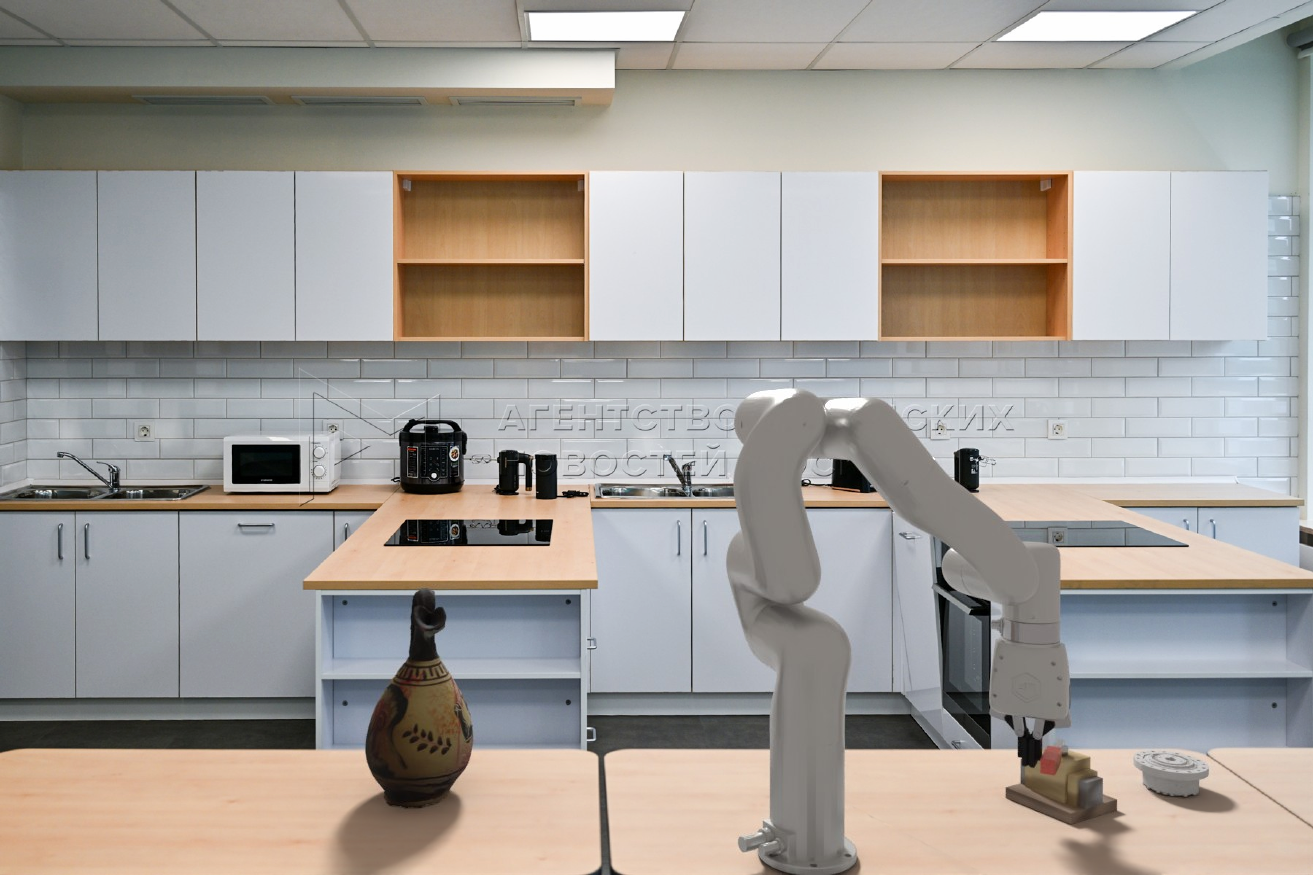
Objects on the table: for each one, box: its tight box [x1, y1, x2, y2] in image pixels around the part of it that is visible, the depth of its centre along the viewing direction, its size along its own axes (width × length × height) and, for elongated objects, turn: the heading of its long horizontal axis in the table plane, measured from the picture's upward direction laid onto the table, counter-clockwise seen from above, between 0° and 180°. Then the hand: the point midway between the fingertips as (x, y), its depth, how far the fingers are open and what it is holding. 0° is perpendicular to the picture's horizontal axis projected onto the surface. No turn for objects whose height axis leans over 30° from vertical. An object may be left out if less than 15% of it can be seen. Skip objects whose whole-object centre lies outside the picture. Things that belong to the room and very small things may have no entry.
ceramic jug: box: [364, 587, 474, 809], centre depth 143 cm, size 17×15×30 cm
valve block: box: [1005, 748, 1118, 825], centre depth 139 cm, size 10×11×7 cm
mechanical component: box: [1133, 749, 1210, 798], centre depth 145 cm, size 10×4×10 cm
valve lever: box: [1040, 738, 1069, 776], centre depth 135 cm, size 12×2×2 cm, turn 149°
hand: (1029, 763), depth 134 cm, fingers closed
